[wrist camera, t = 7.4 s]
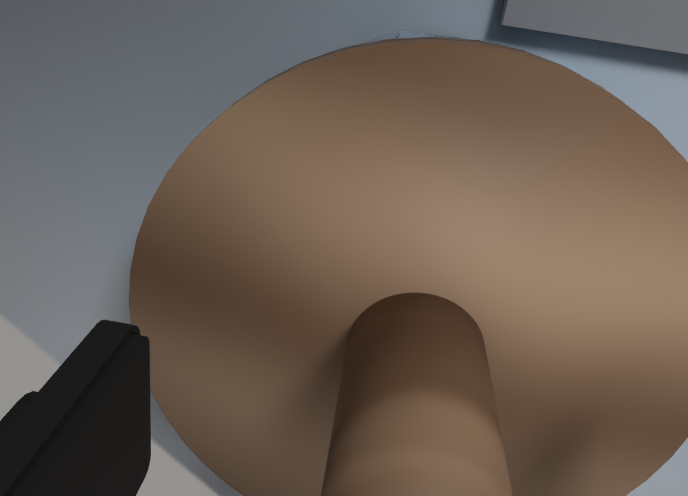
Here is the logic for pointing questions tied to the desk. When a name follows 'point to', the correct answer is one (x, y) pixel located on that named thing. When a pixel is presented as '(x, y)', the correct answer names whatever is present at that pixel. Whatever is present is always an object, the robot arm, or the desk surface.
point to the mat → (606, 20)
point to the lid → (421, 281)
